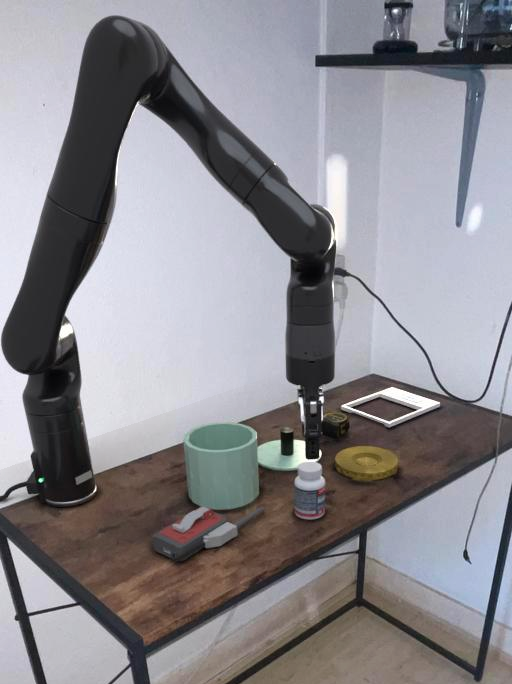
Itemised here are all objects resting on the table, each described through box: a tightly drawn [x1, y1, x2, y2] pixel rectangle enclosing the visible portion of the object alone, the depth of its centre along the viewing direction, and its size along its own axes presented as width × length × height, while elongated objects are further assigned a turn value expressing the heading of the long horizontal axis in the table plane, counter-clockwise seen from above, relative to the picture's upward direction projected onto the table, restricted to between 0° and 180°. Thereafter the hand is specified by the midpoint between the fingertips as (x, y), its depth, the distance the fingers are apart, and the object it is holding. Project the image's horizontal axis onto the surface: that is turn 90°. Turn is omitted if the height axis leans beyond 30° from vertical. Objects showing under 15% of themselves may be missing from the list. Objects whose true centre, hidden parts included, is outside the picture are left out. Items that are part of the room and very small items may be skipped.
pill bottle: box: [294, 462, 326, 521], centre depth 116 cm, size 5×5×9 cm
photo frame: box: [340, 386, 441, 428], centre depth 159 cm, size 15×1×18 cm
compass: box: [334, 445, 399, 482], centre depth 132 cm, size 12×12×2 cm
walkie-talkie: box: [152, 506, 265, 562], centre depth 111 cm, size 9×4×20 cm
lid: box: [257, 427, 322, 472], centre depth 136 cm, size 14×14×6 cm
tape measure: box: [315, 411, 350, 439], centre depth 147 cm, size 7×7×4 cm
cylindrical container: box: [182, 421, 260, 511], centre depth 121 cm, size 13×13×12 cm
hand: (310, 447), depth 112 cm, fingers open, 8 cm apart
